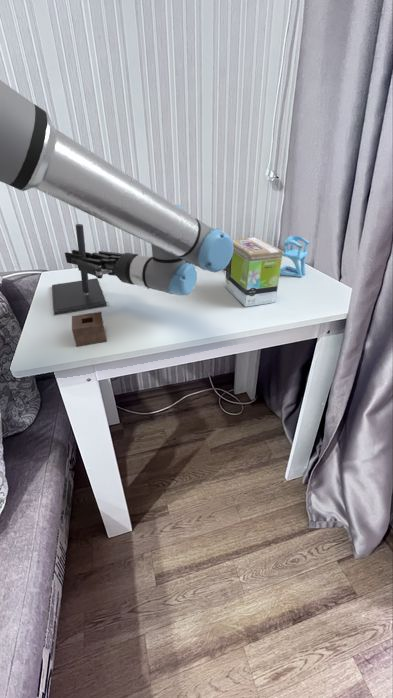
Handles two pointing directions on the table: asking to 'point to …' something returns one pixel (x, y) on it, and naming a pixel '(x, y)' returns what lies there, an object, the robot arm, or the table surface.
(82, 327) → the pen stand
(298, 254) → the chair
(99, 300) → the dark grey flat block
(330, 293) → the table surface
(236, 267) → the tea box
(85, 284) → the stylus
